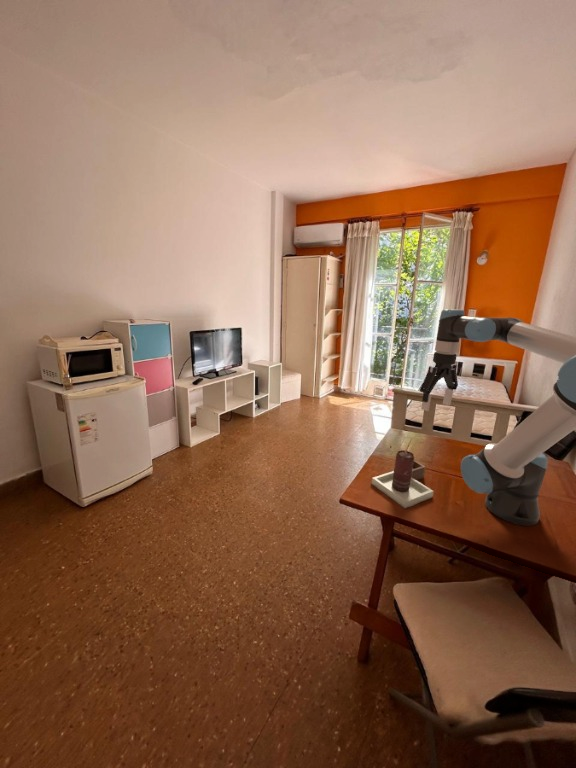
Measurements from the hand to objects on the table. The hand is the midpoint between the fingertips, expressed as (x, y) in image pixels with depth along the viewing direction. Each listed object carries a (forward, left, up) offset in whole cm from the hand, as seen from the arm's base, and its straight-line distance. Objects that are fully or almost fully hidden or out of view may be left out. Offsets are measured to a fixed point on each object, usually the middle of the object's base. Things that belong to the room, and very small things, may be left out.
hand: (435, 407), depth 121 cm
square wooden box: (+2, +7, -28) cm, 29 cm away
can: (-4, +18, -28) cm, 34 cm away
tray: (-4, +18, -28) cm, 34 cm away
